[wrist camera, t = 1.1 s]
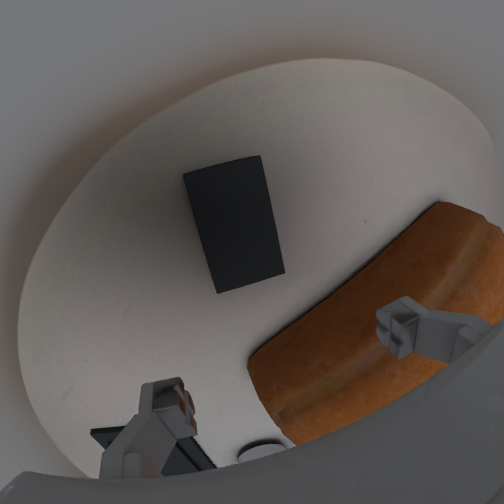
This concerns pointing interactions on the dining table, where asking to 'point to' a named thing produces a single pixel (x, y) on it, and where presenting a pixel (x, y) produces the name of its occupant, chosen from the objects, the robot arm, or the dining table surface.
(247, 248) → the black pad
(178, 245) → the dining table surface
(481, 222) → the bread
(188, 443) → the base pad
